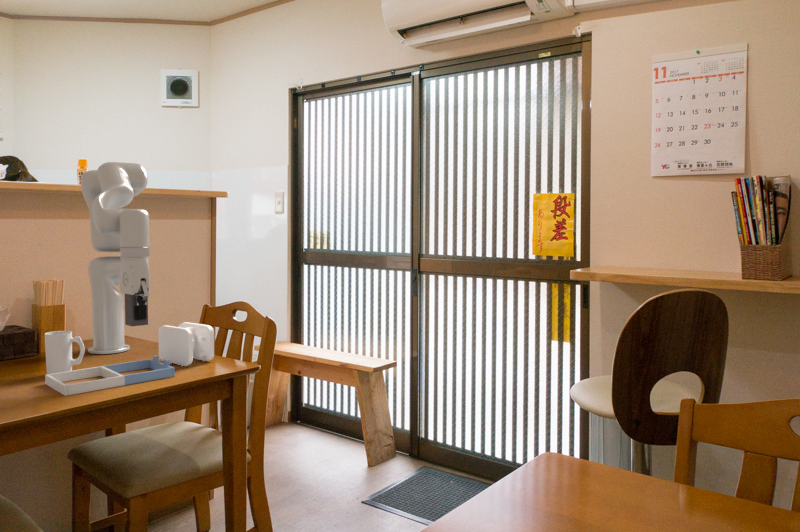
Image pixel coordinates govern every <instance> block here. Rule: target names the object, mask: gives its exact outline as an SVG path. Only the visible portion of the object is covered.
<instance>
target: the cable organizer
mask: <svg viewBox="0 0 800 532" xmlns="http://www.w3.org/2000/svg"><path fill="white" fill-rule="evenodd" d="M157 333H158V338H157V339H158V356H159V360H161V361H162V362H163V359H168V360H169V363H170V364H169V365H174V364H175V365H178V366H179V365H181V366H180V367H183V366H187V367H188V366H189V365H191V364H192V363H193V361H194V359H195V360H199V361H200V360H203V361H202V362H205V361H207V362H209V361H210V360H213V359H214V357H215V330H214V328H213V327H212V326H211V325H209V324H204V323H198V322H197V323H195V322H188V321H185V322H181V323H179V324H178V326H174V325H168V324H165V325H160V326H159V328H158V331H157ZM193 358H194V359H193ZM172 363H173V364H172Z"/></svg>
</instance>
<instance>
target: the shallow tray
mask: <svg viewBox="0 0 800 532" xmlns="http://www.w3.org/2000/svg"><path fill="white" fill-rule="evenodd" d="M144 369H151V370H149V371H148V370H147V371H142V372H136V373H129V374H125V375H123V374H122V373H126V372H130V371H138V370H144ZM175 369H176V368H175V367H174V366H171V365H170V364H169V360H168V359H163V361H162V362H161V361H160V358H159V355H156V354H155V355H154V354H153V355H152V358H147V359H146V358H145V359H138V360H135V361H133V360H132V361H128V362H119V363H114V364H108V365H107V364H106V365H99V366H93V367H87V368H80V369H75V370H73V369H72V371H67V372H60V373H53V374H47V373H46V374H45V375H44V381H45V382H44V383H45V385H46V386H48V387H50V388H51V389H52V390H55V391H56V392H58V393H59V394H61V395H62V396H65V397H66V396H72V395H77V394H78V395H79V394H83V393H89V392H94V391H100V390H105V389H110V388H111V389H112V388H116V387H123V386H128V385H133V384H139V383H144V382H151V381H155V380H156V381H157V380H162V379H167V378H172V377H173V376H174V377H175V376H176V370H175ZM96 377H103V378H99V379H93V380H88V381H82V382H75V383H69V384H67V383H65V382H70V381H77V380H83V379H84V380H85V379H89V378H96Z"/></svg>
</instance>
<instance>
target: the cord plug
mask: <svg viewBox="0 0 800 532" xmlns="http://www.w3.org/2000/svg"><path fill="white" fill-rule="evenodd" d="M137 294H142V292H139V293H137ZM148 298H149V297H148ZM148 298H147V305H146V313H147V318H146V319H144V320H135V319H134V306H136V305H135V297H134V295H128V294H124V326H125V325H126V326H129V327H139V326H148V325H149V306H148V305H149V304H148V302H149V301H148ZM138 300H139V297H138Z"/></svg>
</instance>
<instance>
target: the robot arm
mask: <svg viewBox="0 0 800 532" xmlns="http://www.w3.org/2000/svg"><path fill="white" fill-rule="evenodd" d="M148 180H149V179H148V173H147V170H146V168H145V167H144V166H143V165H142V164H139V163H136V162H135V163H134V162H133V163H132V162H117V161H110V162H109V161H108V162H105V163H102V164H101V165H100V166H98V168H97V169H92V170H86V171H85V172H82V175H81V177H80V188H81V194H82V196H83V199H84V201H85V203H86V205H87V209H88V211H89V221H90V222H89V223H90V239H91V246H92V248H93V250H94V251H95V252H98V253H107V254H108V253H110V254H111V253H113V254H114V253H120V254H119V255H115V256H113V255H110V256H99V257H96V258H92V259H91V260H90V261H89V262H88V265H87V272H88V276H89V277H88V278H89V283H90V290H91V306H92V308H91V310H92V344H93V345H92V346H90V347H88V348H87V352H88V353H89V354H93V355H94V354H95V355H110V354H118V353H124V352H126V351H127V352H128V351H129V350H130V348H131V347H130V345H129V344H128V343H127V344H126V343H125V299H124V297H123V295H122V294H124V295H125V294H128V295H134V297H135V305H136V306H134V319H135V320H144V319H146V318H147V313H146V305H147V298H149V296H150V291H151V276H150V275H151V274H150V264H149V259H151V257H150V253H151V252H150V250H151V248H150V214H149V212H148V211H147V210H146V209H142V208H141V209H140V208H124V207H127V206H128V205H129V204H131V203H132V201H133V199H134V197H137V196H139V195H140V194H141V193H142V192H143V191H144V190H145V189H147V185H148ZM116 286H119V290H118V289H117V288H116ZM139 292H142V294H137V293H139ZM138 297H139V300H138Z"/></svg>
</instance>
